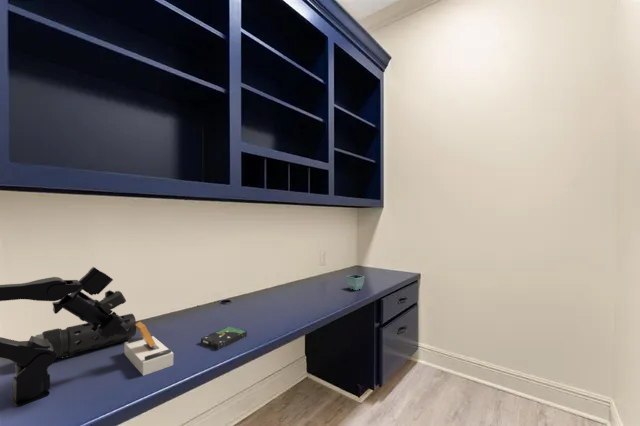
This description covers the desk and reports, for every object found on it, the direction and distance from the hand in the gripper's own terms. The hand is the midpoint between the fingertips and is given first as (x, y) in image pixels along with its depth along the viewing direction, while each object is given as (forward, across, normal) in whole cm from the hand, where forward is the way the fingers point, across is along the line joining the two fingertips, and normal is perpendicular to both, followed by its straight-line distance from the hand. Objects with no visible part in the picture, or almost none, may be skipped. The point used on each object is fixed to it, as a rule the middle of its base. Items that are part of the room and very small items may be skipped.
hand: (126, 333), depth 97 cm
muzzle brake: (+4, +22, +12) cm, 26 cm away
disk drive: (+32, -4, -15) cm, 35 cm away
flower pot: (+104, +6, -87) cm, 135 cm away
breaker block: (+12, 0, +3) cm, 13 cm away
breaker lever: (+10, 0, -1) cm, 10 cm away
